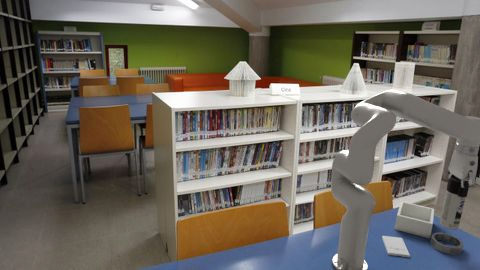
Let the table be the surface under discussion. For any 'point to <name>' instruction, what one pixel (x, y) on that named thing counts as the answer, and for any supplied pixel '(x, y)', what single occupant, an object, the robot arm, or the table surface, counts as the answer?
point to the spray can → (452, 205)
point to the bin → (415, 219)
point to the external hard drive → (395, 246)
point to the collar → (446, 248)
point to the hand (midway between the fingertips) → (456, 192)
